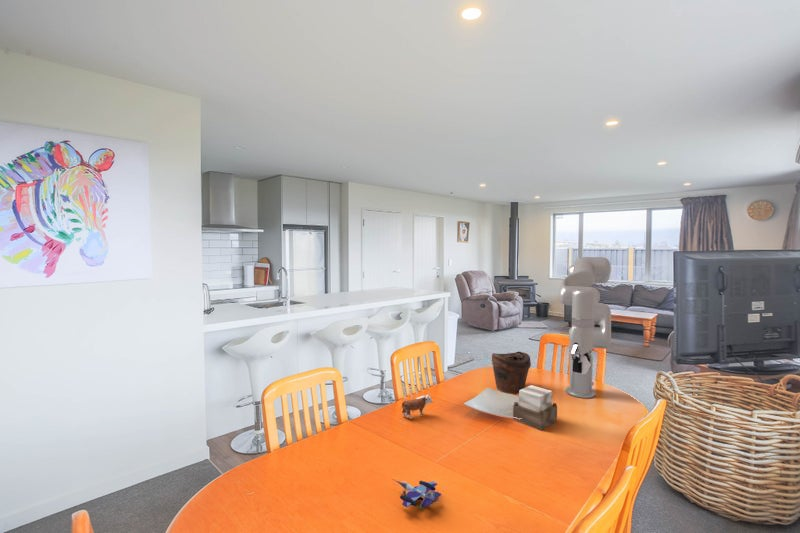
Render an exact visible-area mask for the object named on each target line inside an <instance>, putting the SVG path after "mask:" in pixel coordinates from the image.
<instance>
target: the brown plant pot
mask: <svg viewBox="0 0 800 533" xmlns="http://www.w3.org/2000/svg"><path fill="white" fill-rule="evenodd" d="M491 362H492V363H491V364H492V369H493V375H494V380H495V381H494V382H495V386H496V389H497V390H498V391H500V392H503V393H506V394H507V393H508V394H519V390H521V389H523V388H526V382H527V380H528V379H527V378H528V374H529V369H530V368H531V367H532V363H531V356H530V355H529V354H528V353H527V352H524V351H517V352H509V353H492V354H491Z"/></svg>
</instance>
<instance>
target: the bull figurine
mask: <svg viewBox="0 0 800 533" xmlns="http://www.w3.org/2000/svg"><path fill="white" fill-rule="evenodd" d="M433 402H434V400H433V399H432V398H431V396H430V395H429V394H425V395H421V396H418V397H416V398H413V399H409V400H408V399H407V400H404V401H403V402H402V403H401V409H402V410H401V411H402V417H404V418H406V417H409V419H411V420H413V419H414V418H413V416H412V415H411V412H413V413H414V412H415V411H417V410H418V412H419V413H418V414H419V416H420V417H423V410H424V409H425V407H426V406H427V404H430V403H433Z"/></svg>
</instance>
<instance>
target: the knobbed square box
mask: <svg viewBox="0 0 800 533" xmlns="http://www.w3.org/2000/svg"><path fill="white" fill-rule="evenodd" d="M512 407H513V409H512V411H513V412H512V418H513V417H517V418H522V419H520V420H519V419H516V418H513V419H512V421H515V422H518V423H520V424H523V425H525V426H528V427H531V428H534V429H536V430H539V431H544V430H545V429H547V428H548V427H550V426H552V425H553V424H555V423H556V422H558V404H557V403H556V402H553V391H552V390H549V389H546V388H543V387H539V386H535V385H532V384H531V385H528V386H525V388H523V389H521V390H519V393H518V402H517V401H514V402H513V405H512Z"/></svg>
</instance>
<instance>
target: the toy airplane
mask: <svg viewBox="0 0 800 533" xmlns="http://www.w3.org/2000/svg"><path fill="white" fill-rule="evenodd" d="M392 480H393V481H395V482H396V483H398V484H399V485H400V486H402V488H403V490H402V494H401V495H399V499H401V500H402V505H401V506H403V507H405V508H409V507H410V506H413V507H417V506H418V504H417V502H416V501H422V502H420V505H419V506H418V507H419V509H420V510H423V509H424V508H427V507H428V506H430V505H431V504H433V503H436V501H437V500H438V499H439V497H440V496H441V495H442V494H441V492H439V491H436V486H437V485H438V483H437V482H436V481H434V480H432V481H429V482H427V481H423V480H420V481H418V483H419V485H416V486H412V484H410V483H408V482H407V481H397V480H396V479H393V478H392ZM406 491H407V492H406Z"/></svg>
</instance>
